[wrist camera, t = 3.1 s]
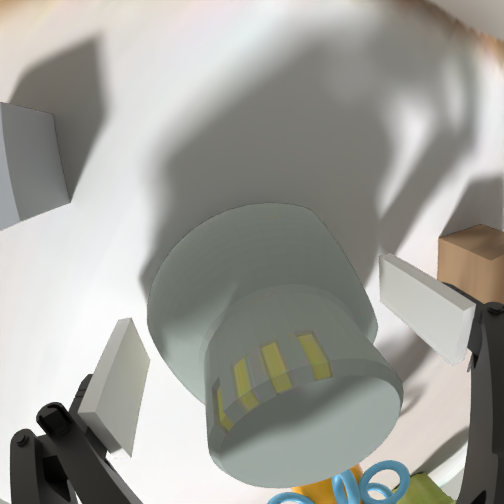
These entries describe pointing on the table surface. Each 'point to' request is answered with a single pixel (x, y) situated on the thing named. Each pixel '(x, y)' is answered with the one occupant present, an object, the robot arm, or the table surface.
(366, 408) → the air freshener
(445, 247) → the walnut block
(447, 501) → the plant pot
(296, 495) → the cylinder
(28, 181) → the grey block
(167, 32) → the table surface
